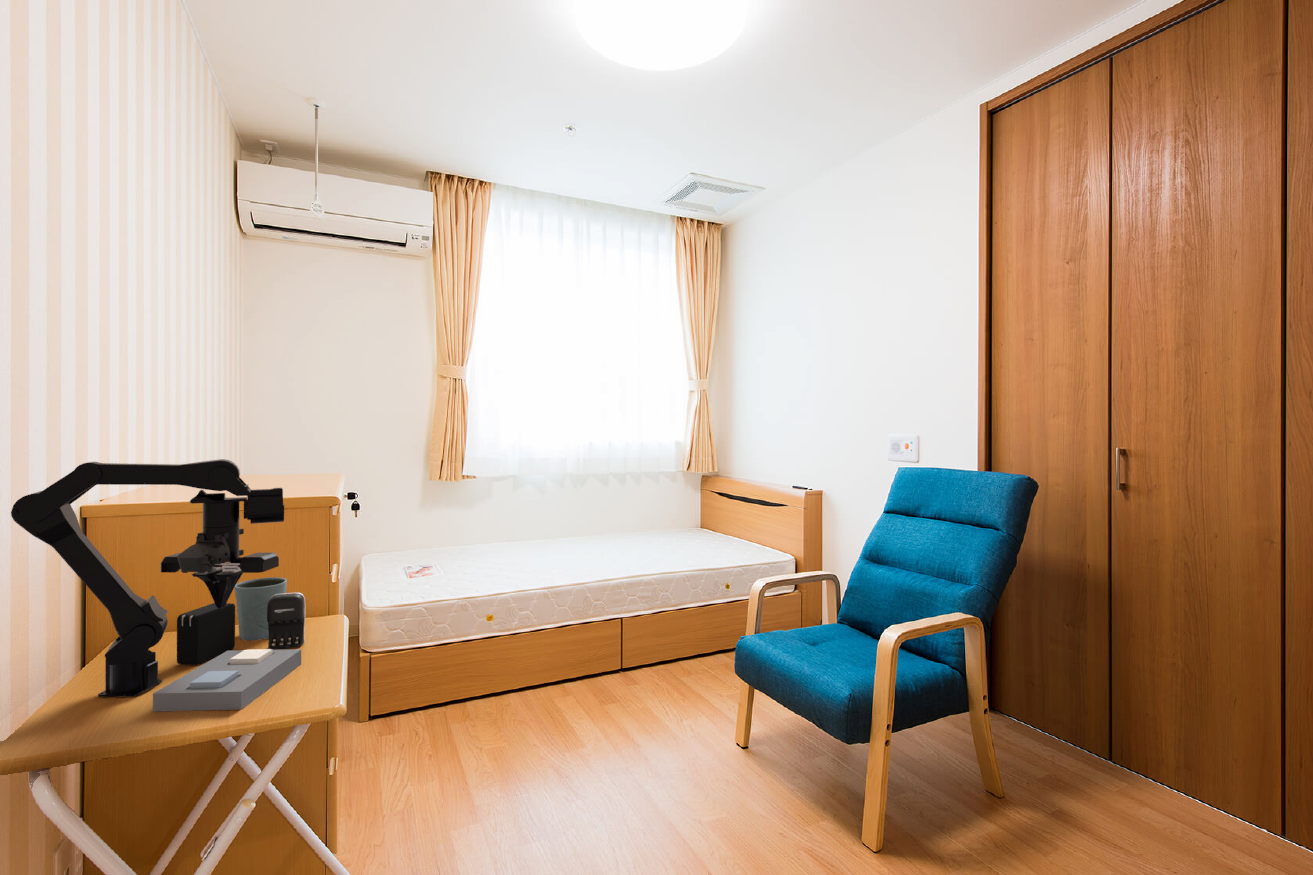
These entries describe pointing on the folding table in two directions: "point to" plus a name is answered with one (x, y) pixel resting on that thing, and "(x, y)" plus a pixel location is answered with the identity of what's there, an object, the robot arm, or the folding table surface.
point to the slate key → (214, 679)
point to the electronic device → (205, 634)
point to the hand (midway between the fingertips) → (220, 607)
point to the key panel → (233, 694)
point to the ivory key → (251, 656)
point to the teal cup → (256, 605)
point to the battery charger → (286, 620)
